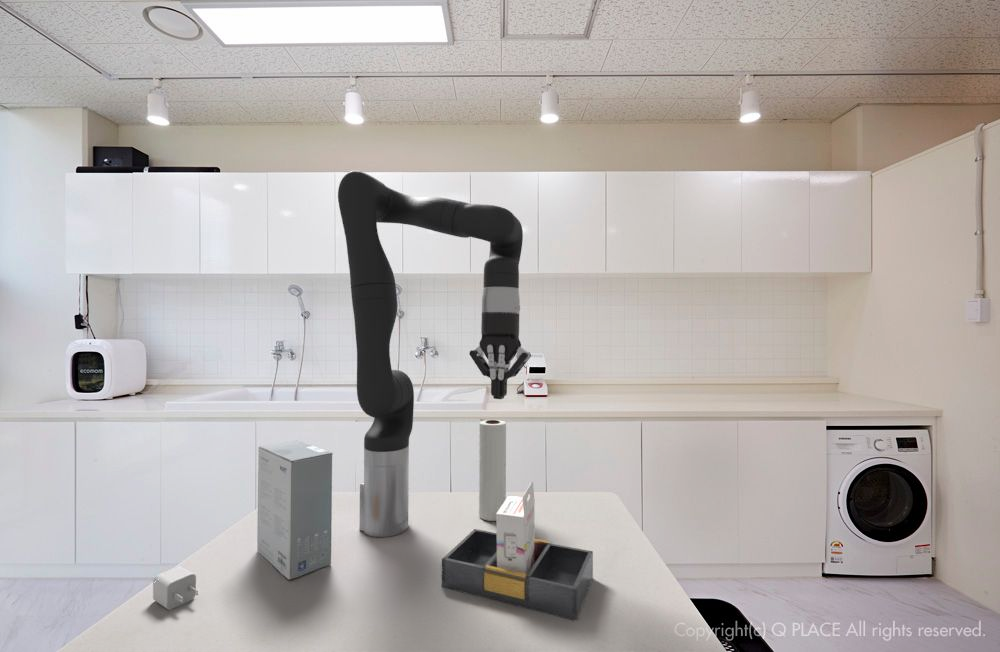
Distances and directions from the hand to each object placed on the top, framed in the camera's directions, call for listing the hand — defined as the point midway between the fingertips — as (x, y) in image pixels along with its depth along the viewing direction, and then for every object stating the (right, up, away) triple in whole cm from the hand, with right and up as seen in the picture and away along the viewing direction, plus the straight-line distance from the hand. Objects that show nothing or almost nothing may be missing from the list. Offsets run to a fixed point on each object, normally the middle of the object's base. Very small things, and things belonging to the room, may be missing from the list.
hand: (498, 398), depth 89 cm
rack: (+3, -28, -14) cm, 32 cm away
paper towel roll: (-2, -29, +13) cm, 32 cm away
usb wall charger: (-49, -28, -20) cm, 60 cm away
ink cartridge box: (+3, -27, -14) cm, 31 cm away
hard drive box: (-38, -28, -7) cm, 48 cm away
